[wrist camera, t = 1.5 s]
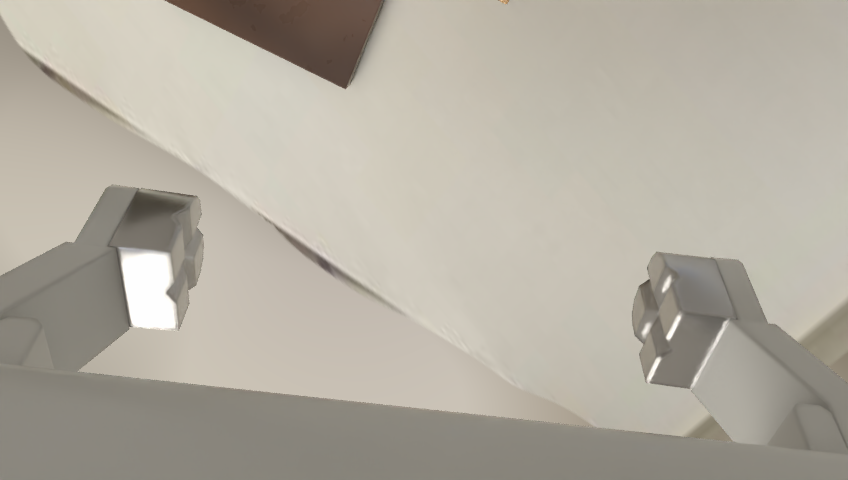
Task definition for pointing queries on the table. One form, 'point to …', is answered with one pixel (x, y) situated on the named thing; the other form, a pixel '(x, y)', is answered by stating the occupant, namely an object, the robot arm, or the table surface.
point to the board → (298, 30)
